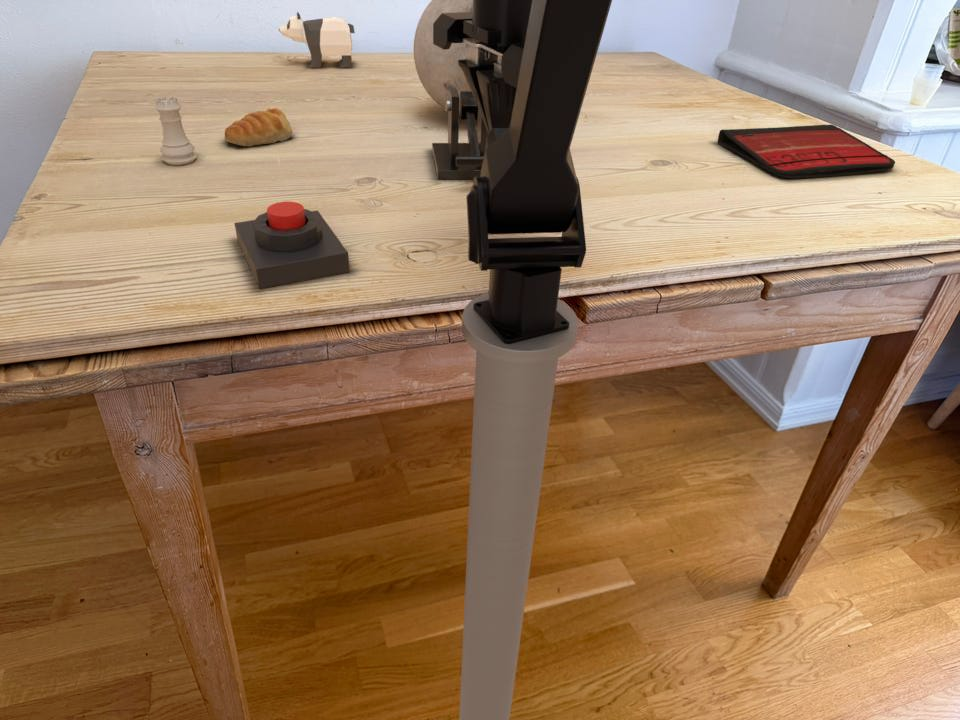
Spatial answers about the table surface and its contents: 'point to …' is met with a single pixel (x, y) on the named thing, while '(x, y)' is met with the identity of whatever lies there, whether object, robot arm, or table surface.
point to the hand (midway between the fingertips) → (497, 141)
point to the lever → (469, 130)
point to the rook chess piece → (173, 133)
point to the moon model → (440, 53)
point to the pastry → (259, 128)
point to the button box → (291, 250)
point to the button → (286, 216)
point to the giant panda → (322, 38)
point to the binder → (805, 151)
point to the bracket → (457, 144)
